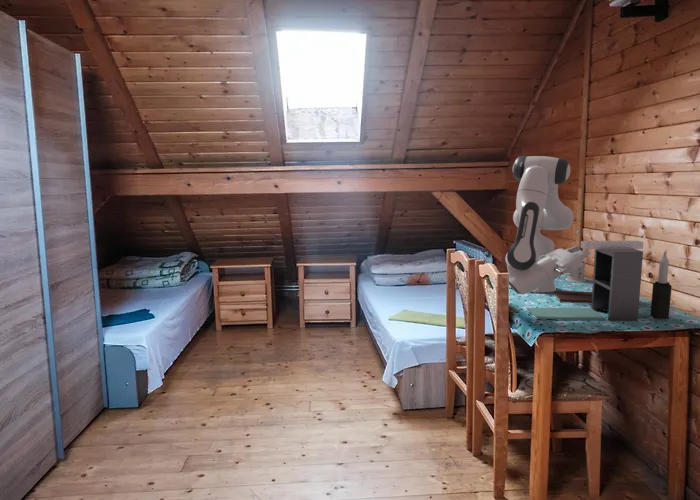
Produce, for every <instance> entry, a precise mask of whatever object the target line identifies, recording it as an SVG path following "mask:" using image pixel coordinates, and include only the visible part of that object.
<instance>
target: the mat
mask: <svg viewBox="0 0 700 500" xmlns="http://www.w3.org/2000/svg"><path fill="white" fill-rule="evenodd" d="M525 309H527V310H528V311H529V312H530V313H531V314H532V315H534V316H535V317H536V318H537V319H561V320H560V321H605V320H606V317H605V315H602V314H601V313H599V312H597V310H593V309H591V307H526V308H525ZM528 311H527V312H528ZM529 312H528V313H529ZM530 313H529V314H530ZM531 314H530V315H531ZM532 315H531V316H532ZM562 319H563V320H562Z"/></svg>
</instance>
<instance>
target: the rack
mask: <svg viewBox="0 0 700 500" xmlns="http://www.w3.org/2000/svg"><path fill="white" fill-rule="evenodd" d="M643 256H644V251H643V250H641V249H594V259H593V260H594V261H593V273H592V274H593V275H592V290H591V292H592V303H590V304H591V307H590V308H591V309H593V310H594V311H608V314H607V320H608V322H638V321H639V309H640V296H641V293H640V292H641V283H642V271H643V258H644V257H643Z"/></svg>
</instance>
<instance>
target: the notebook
mask: <svg viewBox="0 0 700 500" xmlns="http://www.w3.org/2000/svg"><path fill="white" fill-rule="evenodd" d="M553 294H554V296H556V298H557V299H558V301H559V302H560V303H577V304H578V303H579V304H592V291H572V290H571V291H570V290H555V291H553Z"/></svg>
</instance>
